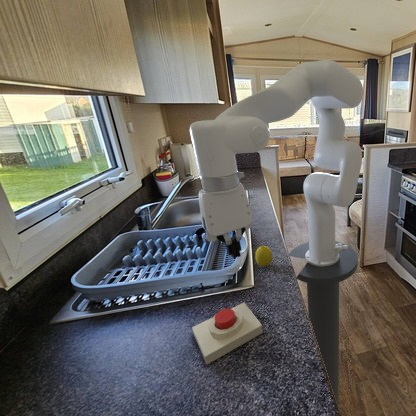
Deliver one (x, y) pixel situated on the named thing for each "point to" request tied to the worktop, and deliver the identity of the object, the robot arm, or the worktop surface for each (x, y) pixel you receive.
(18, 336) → the worktop surface
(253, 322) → the switch block
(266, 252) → the lemon
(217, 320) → the button
